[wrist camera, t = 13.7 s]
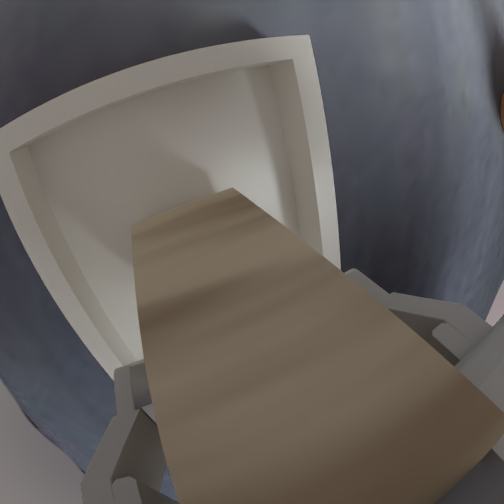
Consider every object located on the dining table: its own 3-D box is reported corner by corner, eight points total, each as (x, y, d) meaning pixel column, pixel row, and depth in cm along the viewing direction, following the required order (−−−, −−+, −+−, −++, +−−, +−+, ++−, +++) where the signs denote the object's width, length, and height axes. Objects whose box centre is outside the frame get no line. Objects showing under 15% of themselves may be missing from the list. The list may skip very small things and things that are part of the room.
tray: (317, 302, 20) (342, 328, 18) (138, 378, 17) (144, 414, 15) (276, 46, 12) (309, 34, 10) (9, 133, 9) (-19, 140, 7)
